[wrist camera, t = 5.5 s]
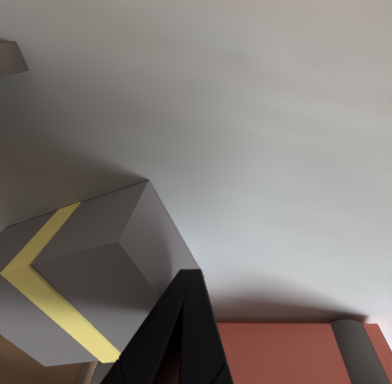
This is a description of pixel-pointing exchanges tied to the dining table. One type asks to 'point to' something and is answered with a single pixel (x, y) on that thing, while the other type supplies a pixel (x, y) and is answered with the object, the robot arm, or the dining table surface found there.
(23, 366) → the tan frame
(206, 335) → the robot arm
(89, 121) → the dining table surface
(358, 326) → the gate
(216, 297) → the dining table surface
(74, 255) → the grey taped parcel
